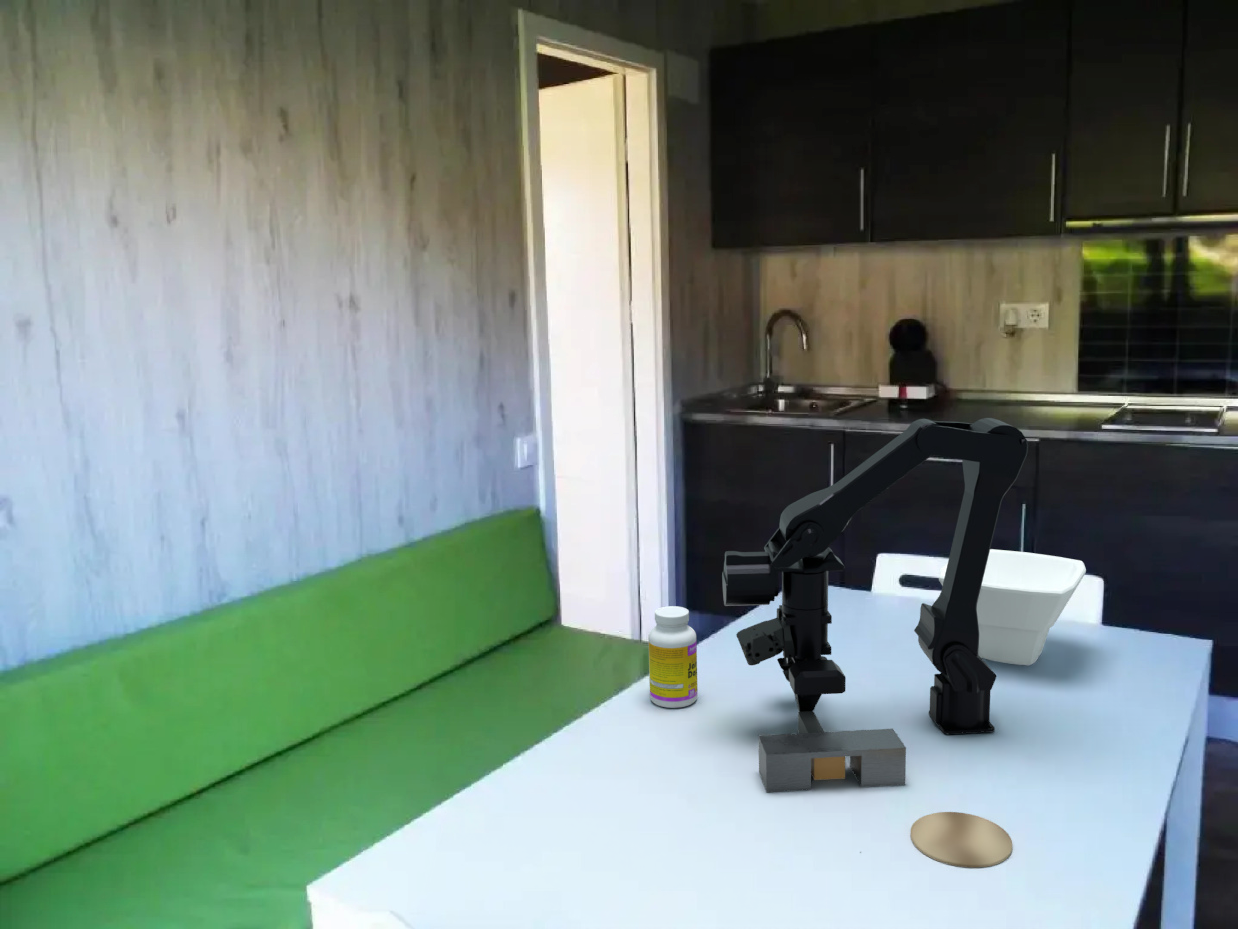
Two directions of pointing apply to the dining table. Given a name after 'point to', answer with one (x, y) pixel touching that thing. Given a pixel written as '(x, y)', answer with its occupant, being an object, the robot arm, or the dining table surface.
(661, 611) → the supplement bottle
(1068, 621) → the dining table surface
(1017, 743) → the dining table surface
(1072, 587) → the bowl
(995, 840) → the coaster
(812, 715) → the tan block with bar
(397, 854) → the dining table surface
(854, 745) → the grey notched block
